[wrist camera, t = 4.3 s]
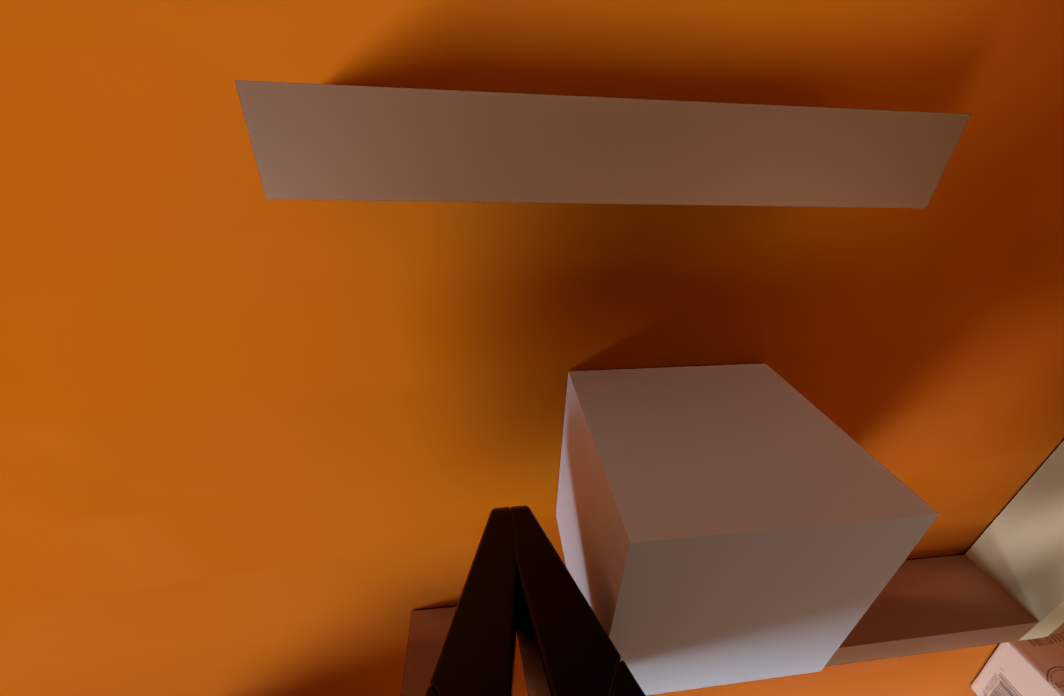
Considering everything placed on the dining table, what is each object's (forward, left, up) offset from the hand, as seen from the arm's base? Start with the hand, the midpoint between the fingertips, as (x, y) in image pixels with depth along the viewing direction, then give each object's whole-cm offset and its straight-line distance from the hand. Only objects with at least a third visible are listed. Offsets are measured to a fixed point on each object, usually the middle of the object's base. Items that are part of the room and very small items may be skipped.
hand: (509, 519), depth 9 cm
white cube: (0, -4, -2) cm, 5 cm away
